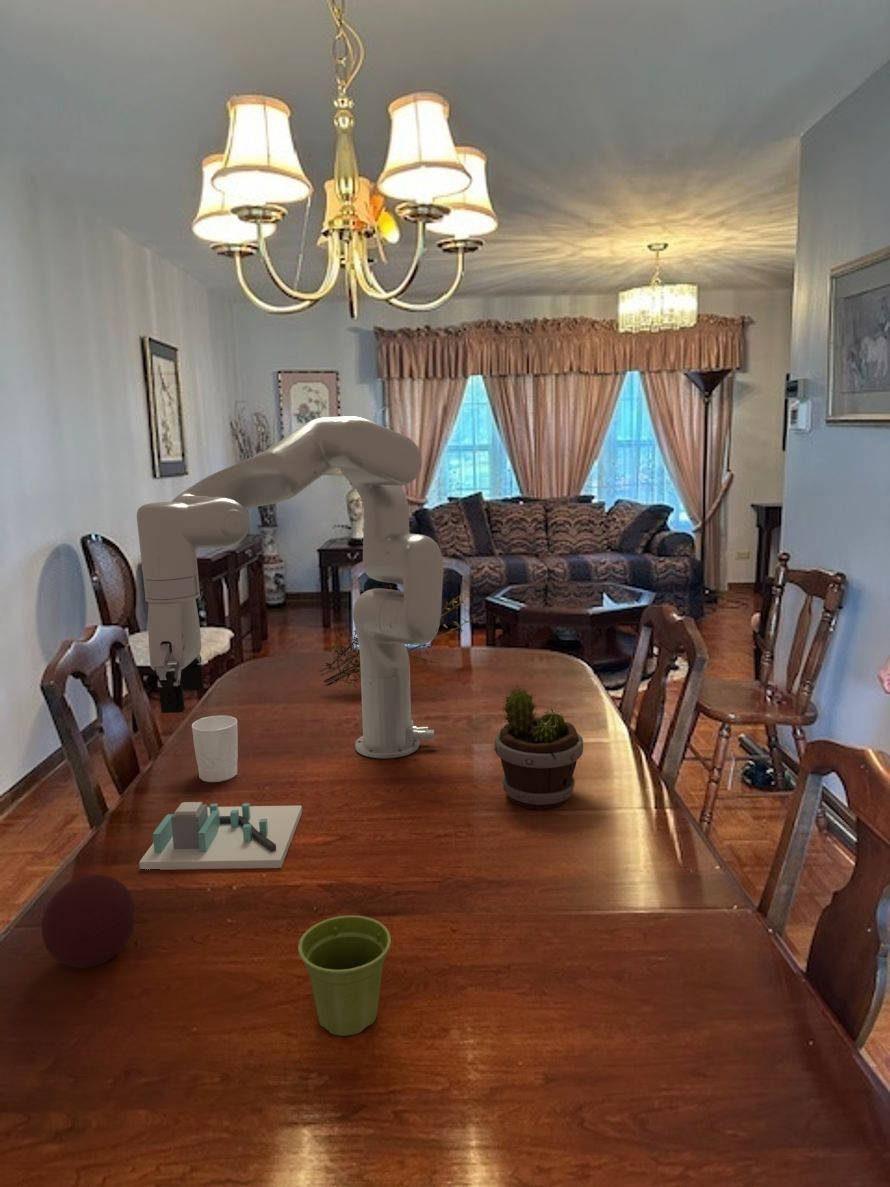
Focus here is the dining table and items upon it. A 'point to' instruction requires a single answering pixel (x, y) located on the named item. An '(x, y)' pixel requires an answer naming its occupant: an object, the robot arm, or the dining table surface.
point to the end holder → (204, 835)
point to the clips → (235, 821)
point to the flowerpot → (536, 754)
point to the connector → (188, 824)
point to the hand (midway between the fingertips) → (183, 700)
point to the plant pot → (345, 970)
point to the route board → (233, 843)
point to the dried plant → (359, 652)
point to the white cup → (216, 747)
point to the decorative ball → (88, 921)
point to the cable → (255, 833)
